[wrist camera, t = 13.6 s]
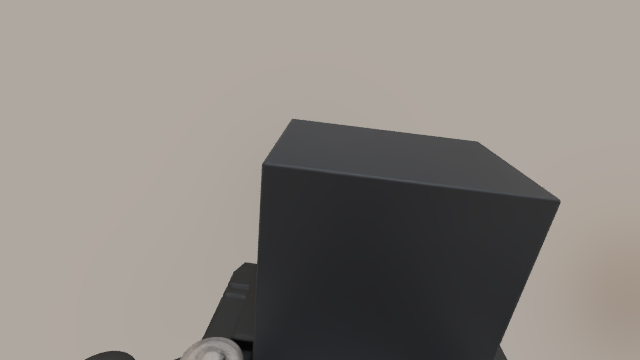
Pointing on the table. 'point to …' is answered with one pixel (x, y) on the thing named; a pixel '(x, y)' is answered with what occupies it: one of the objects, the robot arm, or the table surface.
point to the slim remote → (391, 246)
